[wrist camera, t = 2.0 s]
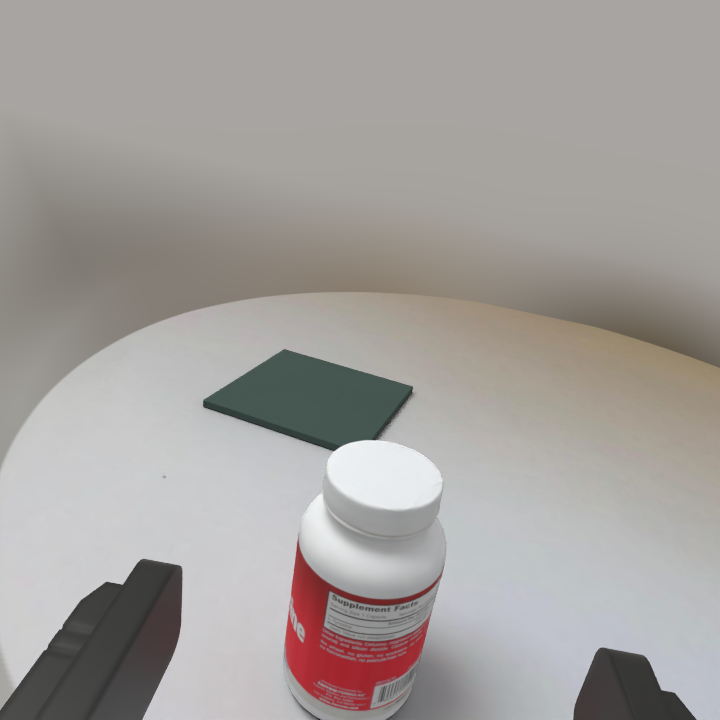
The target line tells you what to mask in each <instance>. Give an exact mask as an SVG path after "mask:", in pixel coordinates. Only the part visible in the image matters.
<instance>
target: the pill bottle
mask: <svg viewBox="0 0 720 720" xmlns="http://www.w3.org/2000/svg"><path fill="white" fill-rule="evenodd" d="M442 492H443V479H442V476H441V473H440V472H439V470H438V469H437V467H436V466H435V465H434V464H433V463H432V462H431V461H430V460H429V459H428V458H426V457H425V456H423V455H422V454H420V453H419V452H417V451H415V450H413V449H411V448H408V447H405V446H403V445H400V444H396V443H392V442H387V441H379V440H364V441H357V442H352V443H349V444H346V445H343V446H342V447H340V448H338V449H337V450H335V451H334V452H333V453H332V455H331V456H330V457H329V459H328V462H327V465H326V471H325V476H324V482H323V492H322V493H321V494H320V495H318V496H317V497H316V498H315V499H314V500H313V501H312V502H311V503H310V505H309V506H308V508H307V509H306V511H305V513H304V515H303V517H302V520H301V524H300V529H299V535H298V542H297V551H296V559H295V567H294V575H293V583H292V590H291V599H290V606H289V614H288V622H287V629H286V637H285V645H284V664H283V665H284V672H285V677H286V680H287V683H288V686H289V688H290V690H291V692H292V694H293V695H294V696H295V698H296V699H297V701H298V702H299V703H300V704H301V705H302V706H303V707H304V708H305V709H306V710H308V711H309V712H310V713H311V714H313V715H314V716H316V717H318V718H319V719H321V720H386V719H387V718H389V717H390V716H392V715H393V714H394V713H395V712H397V711H398V710H399V708H400V707H401V706H402V705H403V704H404V702H405V701H406V699H407V698H408V696H409V694H410V692H411V689H412V687H413V684H414V680H415V677H416V673H417V669H418V665H419V661H420V657H421V653H422V648H423V644H424V641H425V637H426V633H427V628H428V624H429V620H430V616H431V613H432V609H433V605H434V602H435V598H436V594H437V590H438V587H439V583H440V579H441V577H442V572H443V568H444V564H445V556H446V539H445V534H444V530H443V528H442V525H441V523H440V521H439V520H438V518H437V515H438V513H439V508H440V501H441V496H442Z"/></svg>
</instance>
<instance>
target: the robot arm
mask: <svg viewBox="0 0 720 720" xmlns="http://www.w3.org/2000/svg"><path fill="white" fill-rule="evenodd" d="M181 608H182V567H181V566H179V565H174V564H169V563H163V562H158V561H153V560H148V559H142V560H140V561H139V562H138V563H137V565H136V566H135V568H134V569H133V571H132V572H131V574H130V575H129V577H128V578H127V580H126V581H125V583H124V584H123V585H121V584H115V583H110V582H106V583H104V584H103V585H102V586H100V587H99V588H97V589H96V590H95V591H93V592H92V593H90V594H89V595H88V596H86V597H85V598H84V599H82V600H81V601H80V602H79V604H78V605H77V606H76V608H75V609H74V611H73V612H72V613H71V615H70V616H69V617H68V619H67V620H66V621H65V623H64V624H63V628H62V629H61V630H59V631H58V632H57V634H56V635H55V636H54V638H53V639H52V641H51V642H50V643H49V645H48V648H47V650H44V651H43V653H42V654H41V656H40V657H39V658H38V660H37V661H36V662H35V664H34V665H33V666H32V668H31V669H30V671H29V672H28V673H27V675H26V676H25V677H24V679H23V680H22V681H21V683H20V684H19V686H18V687H17V688H16V690H15V691H14V692H13V694H12V695H11V697H10V698H9V699H8V701H7V702H6V703H5V705H4V706H3V707H2V709H1V710H0V720H142V719H143V717H144V715H145V712H146V710H147V708H148V706H149V704H150V702H151V700H152V698H153V696H154V694H155V692H156V690H157V688H158V685H159V683H160V681H161V679H162V677H163V675H164V673H165V671H166V669H167V667H168V665H169V663H170V661H171V658H172V656H173V654H174V651H175V648H176V645H177V642H178V638H179V633H180V628H181ZM573 720H696V719H695V717H694V716H693V715H692V714H691V712H690V711H689V710H688V709H687V708H686V706H685V705H684V704H683V703H682V701H681V700H680V699H679V698H678V697H677V695H676V694H675V693H672V692H667V691H662V690H661V689H660V686H659V684H658V681H657V679H656V677H655V674H654V672H653V670H652V667H651V665H650V663H649V661H648V660H647V658H646V657H645V656H643V655H639V654H634V653H628V652H623V651H618V650H613V649H607V648H600V649H598V651H597V652H596V654H595V656H594V659H593V661H592V664H591V666H590V669H589V671H588V674H587V676H586V678H585V681H584V683H583V686H582V688H581V691H580V693H579V696H578V698H577V701H576V704H575V709H574V719H573Z"/></svg>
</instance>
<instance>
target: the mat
mask: <svg viewBox="0 0 720 720" xmlns="http://www.w3.org/2000/svg"><path fill="white" fill-rule="evenodd" d="M412 389H413V387H412V386H409V385H405V384H402V383H399V382H395V381H392V380H388V379H385V378H381V377H378V376H375V375H371V374H368V373H364V372H361V371H357V370H354V369H351V368H347V367H344V366H340V365H337V364H333V363H330V362H326V361H323V360H320V359H316V358H313V357H309V356H306V355H302V354H299V353H296V352H292V351H289V350H285V349H284V350H282V351H281V352H279V353H278V354H276V355H274V356H273V357H271V358H270V359H268V360H267V361H265V362H263V363H262V364H260V365H259V366H257V367H255V368H254V369H252V370H251V371H249V372H247V373H246V374H244V375H243V376H241V377H240V378H238V379H236V380H235V381H233V382H232V383H230V384H228V385H227V386H225V387H224V388H222V389H220V390H219V391H217V392H216V393H214V394H212V395H211V396H209V397H208V398H206V399H205V400H204V401H203V406H204V407H207V408H210V409H213V410H216V411H219V412H222V413H225V414H228V415H231V416H234V417H237V418H239V419H242V420H245V421H248V422H251V423H254V424H257V425H260V426H263V427H266V428H269V429H272V430H275V431H278V432H281V433H284V434H287V435H290V436H293V437H296V438H299V439H302V440H305V441H308V442H311V443H314V444H316V445H319V446H322V447H325V448H328V449H331V450H334V451H335V450H337V449H338V448H340V447H342V446H343V445H346V444H349V443H352V442H357V441H364V440H375V439H376V438H377V436H378V435H379V434H380V433H381V431H382V430H383V429H384V427H385V426H386V425H387V423H388V422H389V421H390V420H391V418H392V417H393V416H394V414H395V413H396V412H397V411H398V409H399V408H400V407H401V405H402V404H403V403H404V401H405V400H406V399H407V398H408V396H409V395H410V394H411V392H412Z"/></svg>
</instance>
